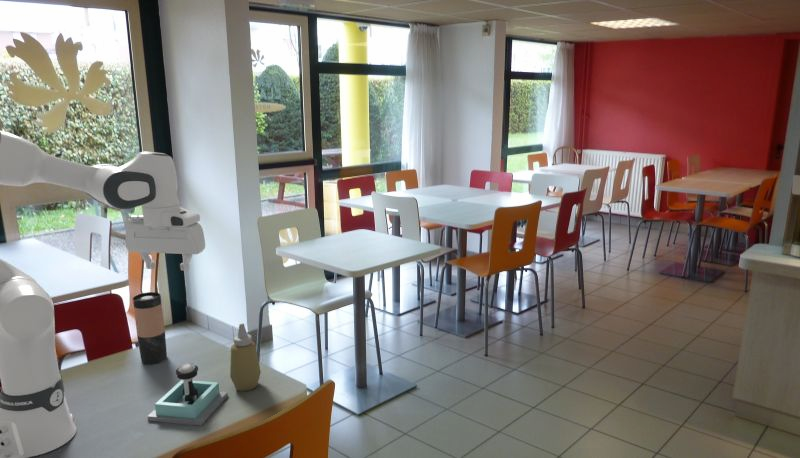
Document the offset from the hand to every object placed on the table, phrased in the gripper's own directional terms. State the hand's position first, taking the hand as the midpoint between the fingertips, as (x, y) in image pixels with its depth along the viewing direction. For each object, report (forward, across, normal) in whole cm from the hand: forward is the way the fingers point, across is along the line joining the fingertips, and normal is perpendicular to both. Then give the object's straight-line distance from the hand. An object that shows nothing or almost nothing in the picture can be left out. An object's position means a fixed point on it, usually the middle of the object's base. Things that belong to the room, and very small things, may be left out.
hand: (167, 269), depth 147 cm
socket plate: (+34, +7, -8) cm, 36 cm away
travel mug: (+34, -18, +16) cm, 42 cm away
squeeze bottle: (+34, +16, +5) cm, 38 cm away
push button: (+33, +7, -8) cm, 35 cm away
